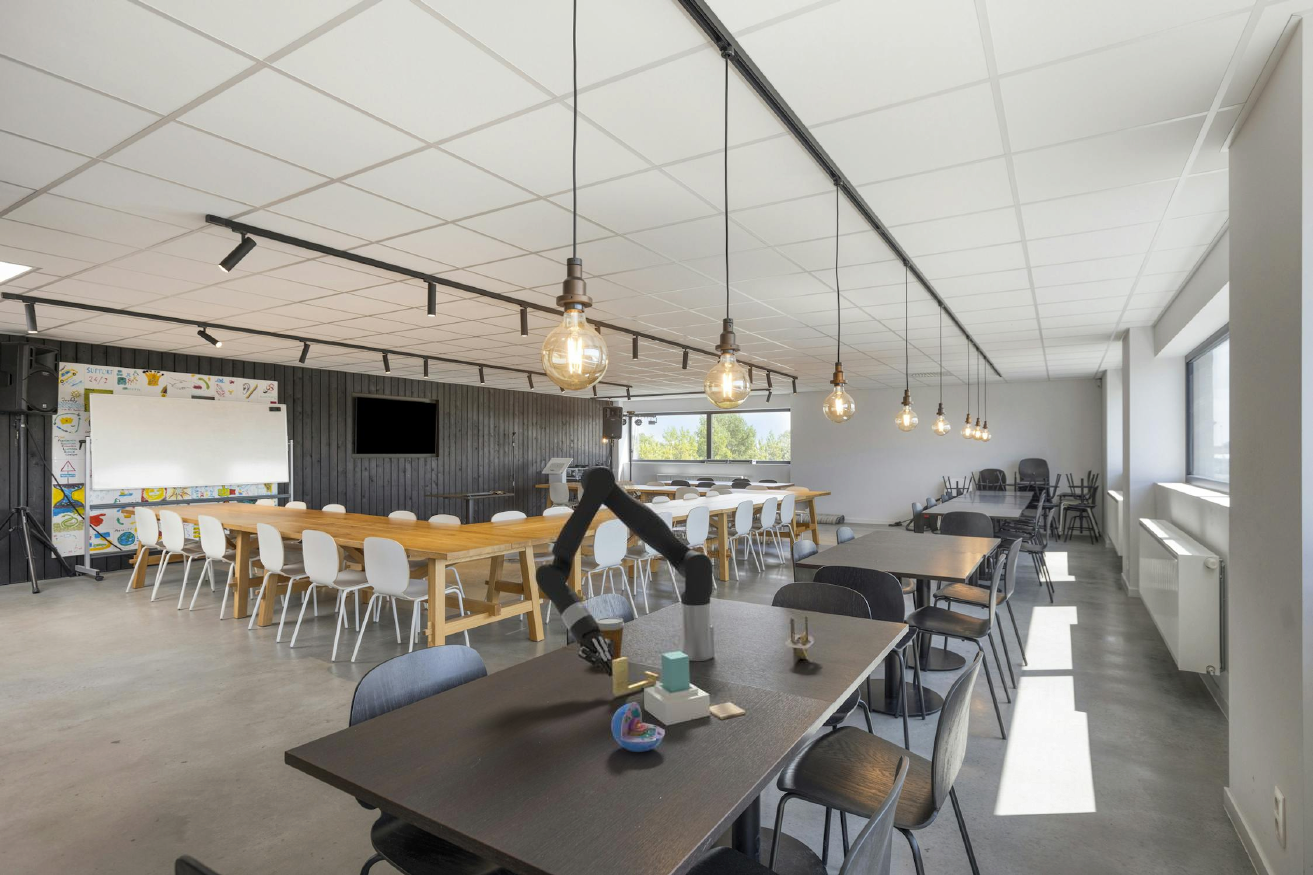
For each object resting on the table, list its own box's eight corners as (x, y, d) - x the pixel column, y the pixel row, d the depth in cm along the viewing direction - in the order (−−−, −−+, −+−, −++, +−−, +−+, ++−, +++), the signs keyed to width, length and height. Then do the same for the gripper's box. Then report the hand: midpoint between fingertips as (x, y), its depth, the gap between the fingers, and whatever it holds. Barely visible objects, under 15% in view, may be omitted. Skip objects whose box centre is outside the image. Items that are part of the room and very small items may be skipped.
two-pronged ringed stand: (842, 655, 204) (840, 610, 205) (829, 680, 182) (827, 629, 182) (776, 648, 213) (775, 605, 213) (756, 672, 190) (755, 623, 191)
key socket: (656, 680, 183) (656, 679, 183) (666, 687, 178) (666, 685, 178) (637, 684, 181) (637, 683, 181) (646, 691, 175) (646, 689, 175)
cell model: (653, 763, 133) (652, 716, 133) (603, 754, 138) (602, 708, 138) (673, 744, 142) (672, 700, 142) (625, 735, 147) (624, 693, 147)
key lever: (649, 680, 182) (648, 647, 182) (661, 684, 178) (660, 651, 179) (609, 693, 173) (608, 658, 173) (620, 698, 169) (620, 662, 169)
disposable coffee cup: (627, 653, 210) (626, 616, 211) (622, 662, 201) (621, 623, 201) (598, 653, 211) (597, 616, 212) (592, 662, 202) (591, 623, 202)
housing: (685, 699, 168) (685, 675, 168) (710, 715, 158) (709, 689, 158) (644, 708, 163) (643, 683, 163) (666, 725, 152) (665, 698, 152)
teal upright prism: (680, 686, 164) (679, 650, 164) (689, 692, 159) (688, 655, 160) (662, 690, 161) (661, 653, 162) (672, 696, 157) (671, 659, 157)
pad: (729, 704, 164) (729, 701, 164) (745, 713, 158) (745, 711, 158) (706, 709, 161) (706, 707, 161) (721, 719, 155) (721, 716, 155)
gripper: (569, 619, 175) (603, 672, 167) (603, 609, 186) (636, 659, 177) (556, 635, 178) (589, 689, 170) (590, 625, 189) (622, 675, 181)
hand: (613, 674), depth 174 cm, fingers closed
